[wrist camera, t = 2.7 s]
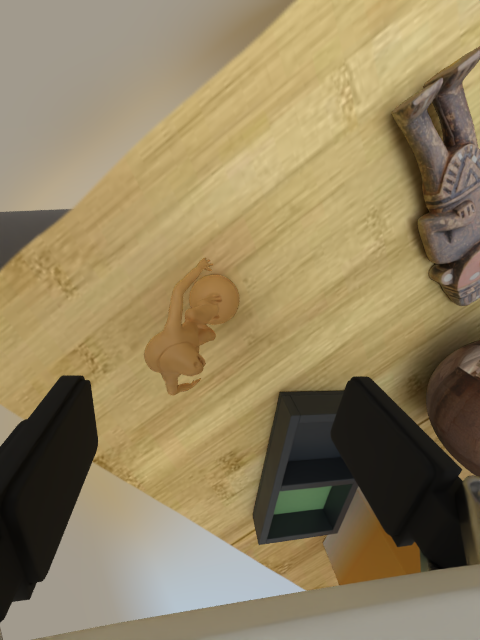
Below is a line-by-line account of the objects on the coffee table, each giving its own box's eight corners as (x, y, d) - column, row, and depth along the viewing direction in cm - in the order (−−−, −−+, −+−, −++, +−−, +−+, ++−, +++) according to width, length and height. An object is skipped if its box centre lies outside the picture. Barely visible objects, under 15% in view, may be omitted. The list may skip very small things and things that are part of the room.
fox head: (415, 539, 49) (543, 731, 31) (319, 548, 44) (407, 783, 26) (464, 475, 43) (662, 670, 25) (359, 477, 38) (512, 725, 20)
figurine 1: (228, 335, 24) (259, 439, 14) (163, 332, 23) (139, 443, 12) (242, 246, 21) (294, 289, 11) (166, 236, 20) (138, 274, 9)
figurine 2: (540, 7, 14) (553, 284, 23) (454, 51, 18) (494, 268, 27) (421, 101, 15) (479, 329, 24) (368, 121, 19) (434, 306, 28)
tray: (252, 515, 37) (258, 545, 34) (279, 391, 28) (291, 415, 25) (325, 506, 39) (337, 533, 36) (370, 389, 31) (392, 411, 28)
